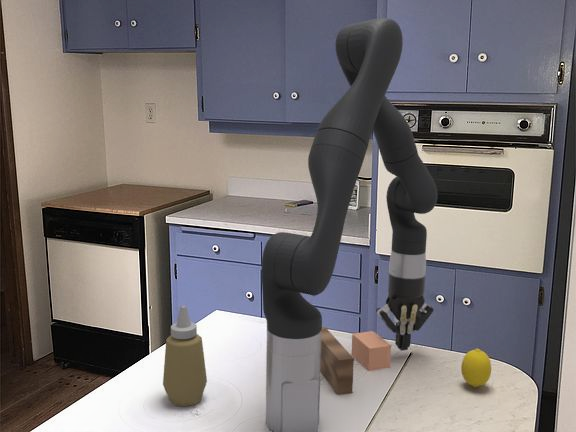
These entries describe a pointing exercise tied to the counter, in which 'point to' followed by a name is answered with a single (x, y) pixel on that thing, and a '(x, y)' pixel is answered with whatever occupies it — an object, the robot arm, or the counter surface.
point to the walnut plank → (336, 363)
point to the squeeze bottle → (184, 362)
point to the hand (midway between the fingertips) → (402, 348)
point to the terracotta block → (371, 350)
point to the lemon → (476, 368)
